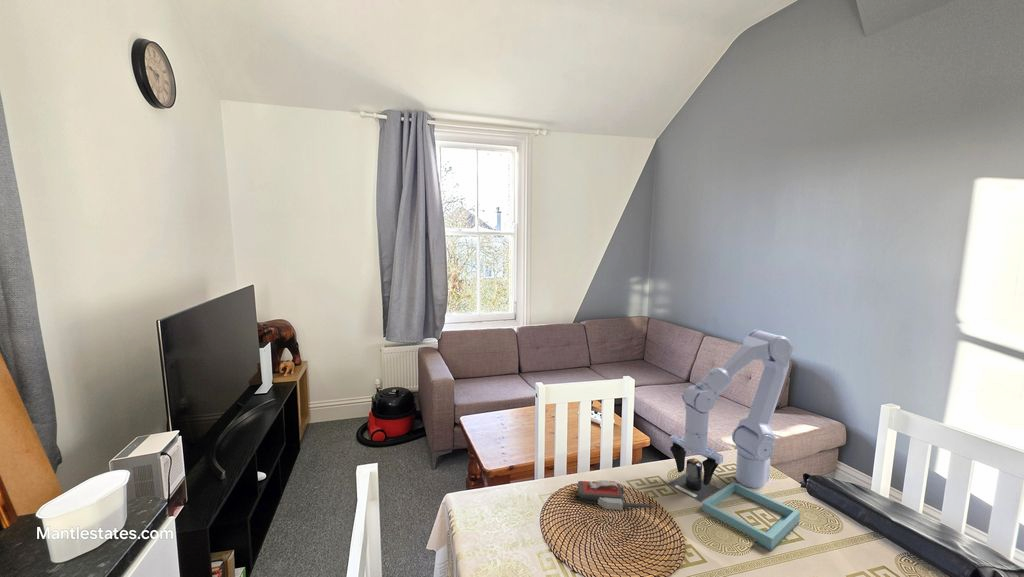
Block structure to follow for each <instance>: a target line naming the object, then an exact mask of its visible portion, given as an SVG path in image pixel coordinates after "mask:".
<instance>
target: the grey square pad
mask: <svg viewBox="0 0 1024 577" xmlns="http://www.w3.org/2000/svg"><path fill="white" fill-rule="evenodd" d="M703 480H704V479H702V481H701V490H699V491H694V490H690V489H688V488H687V487H686V485H685V484H686V472H685V473H683V474H682V475H680V476H679V477H676V478H675V479H674V480H672V481H670V482H668V483H667V484H666V485H667V486H669V487H671V488H673V489H675V490H677V491H678V492H681V493H683V494H685V495H686V496H689V497H691V498H692V499H694V500H696V501H698V502H700V503H703V502H704V500H705V501H706V500H707V499H709V498H710V497H712V496H713V495H715V494H716V493H717V492H719V491H720V488H719V487H717V486H715V485H713V484H710V483H709V484H708V485H704V482H703Z"/></svg>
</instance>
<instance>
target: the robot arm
mask: <svg viewBox="0 0 1024 577" xmlns="http://www.w3.org/2000/svg"><path fill="white" fill-rule="evenodd" d="M793 351H794V346H793V345H792V343H791V341H790V339H789V338H788V337H786V336H784V335H778V334H774V333H770V332H767V331H763V330H761V329H754V330H751V331H750V332H749V333H748V335H747V336H745V337H743V341H742V345H741V346H740V347H738V349H737V351H735V352H734V353H733V355H732V356H731V357H729V359H728V360H726V362H725V363H724V364H723V365H722V366H721V367H713V369H710V370H708V372H707V374H706V375H705V376H704V377H703V378H701V379H700V380H699V381H697V383H695V385H690V386H688V387H686V388H685V390H684V391H683V394H681V399H682V401H683V403H684V408H685V420H684V437H682V436H681V437H680V436H677V435H674V434H673V435H671V436H669V444H671V445H672V446H670V451H671V454H672V455H673V459H674V461H675V465H676V469H677V472H678V473H682V472H683V471H685V468H686V466H685V465H686V463H685V462H686V454H687V453H689V454H692V453H693V454H697V455H699V456H701V457H703V458H706V459H705V460H703V461H701V463H702V469H703V479H702V480H703V482H704V485H708V484H710V483H711V482H712V481H711V480H712V477H713V475H714V472H715V471H716V469H717V468H718V466H719V465H721V464H722V463H723V462H724V455H723V454H721V453H719V452H717V451H716V450H714V449H713V448H711V447H709V446H708V430H709V414H710V413H709V412H710V411H711V410H713V409H714V407H715V404H716V401H717V400H718V397H719V396H720V395H721V394H722V393H723V392H724V391H726V389H728V387H730V386H731V385H732V383H733V380H732V379H733V376H735V375H736V374H737V373H739V372H740V371H741V370H743V369H744V368H745V367H746V366H748V365H749V364H750V363H751V362H753V361H754V360H760V361H761V363H762V364H763V365H764V368H763V370H762V374H761V376H760V379H759V382H758V386H757V388H756V392H755V394H754V398H753V401H752V404H751V407H750V409H749V413H748V416H747V417H745V418H743V419H740V420H739V422H738V424H737V425H736V427H735V428H734V430H733V431H732V434H731V440H732V443H733V444H734V445H735V449H736V450H737V452H736V466H735V467H736V468H735V480H736V481H737V482H738V483H740V485H742V486H744V487H747V488H748V487H749V488H753V489H760V488H764V487H765V485H766V483H767V482H769V483H771V484H773V483H774V482H773V480H770V476H771V475H770V474H771V473H770V472H771V459H770V458H771V457H772V456H773V454H774V453H775V440H776V435H775V433H774V431H773V430H772V428H771V426H770V425H771V422H772V418H773V417H774V412H775V410H776V409H777V408H776V407H777V405H778V401H779V398H780V395H781V392H782V389H783V386H784V384H785V380H786V378H787V375H788V371H789V368H790V359H791V356H792V354H793Z"/></svg>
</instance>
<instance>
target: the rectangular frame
mask: <svg viewBox="0 0 1024 577" xmlns="http://www.w3.org/2000/svg"><path fill="white" fill-rule="evenodd" d="M733 493H737V494H739V495H741V496H743V497H745V498H748V499H749V500H752V501H754V502H756V503H758V504H760V505H762V506H764V507H767V508H769V509H771V510H773V511H776V512H777V513H780V514H781V515H782V516H780V518H779V519H778V520H777V521H776V522H774V523H773V524H772V525H771V526H770V527H769V528H768V529H767V530H766V531H763V530H761V529H759V528H757V527H756V526H753V525H751V524H750V523H748V522H746V521H743V520H741V519H740V518H738V517H736V516H734V515H732V514H730V513H728V512H726V511H724V510H722V509H720V508H718V507H717V505H719V504H720V503H721V502H723V501H724V500H726V499H727V498H728V497H729V496H731V495H732V494H733ZM701 507H702V508H701V509H702V510H701V511H703V512H705V513H707V514H708V515H710V516H712V517H713V518H715V519H717V520H719V521H721V522H723V523H725V524H726V525H729V526H731V527H732V528H734V529H736V530H738V531H740V532H741V533H744V534H746V535H747V536H749V537H751V538H752V539H755V541H754V543H755V544H757V545H759V546H760V547H762V548H765V549H766V550H767V551H769V552H772V551H773V550H774V549H775V548H776V547H777V546H779V544H780V543H782V541H783V540H784V539H785V538H787V536H788V535H789V534H790V533H791V532H792V531H793V530H794V529H795V528H796V527H797V526H798V525H799V523H800V516H801V511H799V510H797V509H795V508H792V507H790V506H788V505H786V504H784V503H781V502H779V501H778V500H775V499H772V498H770V497H768V496H766V495H765V494H762V493H759V492H757V491H755V490H753V489H750V488H748V487H747V486H745V485H743V484H739V483H737V482H735V481H732V482H731V483H729V484H728V485H726V486H725V487H723V488H722V489H719V490H718V491H717V492H715V493H714V494H712V495H711V496H709V497H708V498H706V499H705V501H702V506H701Z"/></svg>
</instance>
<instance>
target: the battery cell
mask: <svg viewBox="0 0 1024 577" xmlns="http://www.w3.org/2000/svg"><path fill="white" fill-rule="evenodd" d="M685 465H686V466H685V468H686V469H685V473H686V484H685V485H686V487H687V488H688V489H690V490H694V491H699V490H701V481H702V480H703V479H702V476H703V464H702V461H701V460H699V459H697V458H689V459H687V460H686V463H685Z"/></svg>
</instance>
